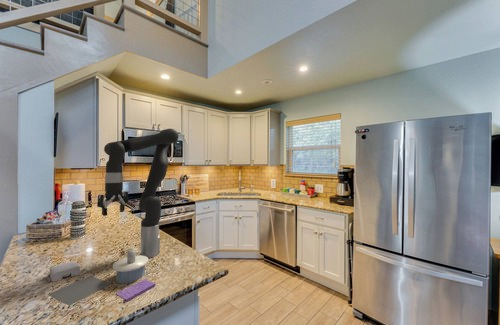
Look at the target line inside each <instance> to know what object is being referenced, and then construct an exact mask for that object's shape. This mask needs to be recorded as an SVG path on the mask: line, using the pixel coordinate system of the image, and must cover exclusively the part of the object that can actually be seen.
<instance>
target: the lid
mask: <svg viewBox="0 0 500 325" xmlns="http://www.w3.org/2000/svg"><path fill="white" fill-rule="evenodd" d="M126 254H127V255H126V257H123V258H121V259H119V260H117V261H115V262H114V263H113V264H112V269H113V271H115V272H116V271H119V272H126V271H132V270H136V269H139V268H141V267H143V266H145V267H146V265H147V264H148V263H149V258H148V257H146V256H141V255H140V254H139V255H138V254H137V255H136V249H129V250H127V251H126Z"/></svg>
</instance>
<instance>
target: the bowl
mask: <svg viewBox="0 0 500 325" xmlns="http://www.w3.org/2000/svg"><path fill="white" fill-rule="evenodd" d="M145 274H146V265H145V266H143V267H141V268H139V269H136V270H132V271H126V272H119V271H115V276H116V277H115V278H116V279H115V280H116V282H117V283H119V284H130V283H134V282H138V281H139V280H141V279H142V278H143V277H144V276H145Z"/></svg>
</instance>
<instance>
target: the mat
mask: <svg viewBox="0 0 500 325" xmlns="http://www.w3.org/2000/svg"><path fill="white" fill-rule="evenodd" d="M111 285H112V282H111V283H110V282H108V281H105V280H103V279H100V278H98V277H95V276H92V275H90V276H87V277H85V278H83V279H79V280H78V281H75V282H73V283H70V284H68V285H66V286H64V287H61V288H59V289H57V290H54V291H53V292H50V293H48V294H47V295H48V296H50V297H51V298H54V299H55V300H59V301H60V302H62V303H64V304H66V305H68V306H71V305H73V304H75V303H78V302H79V301H82V300H83V299H85V298H87V297H89V296H91V295H93V294H95V293H97V292H99V291H101V290H103V289H104V288H107V287H109V286H111Z"/></svg>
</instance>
